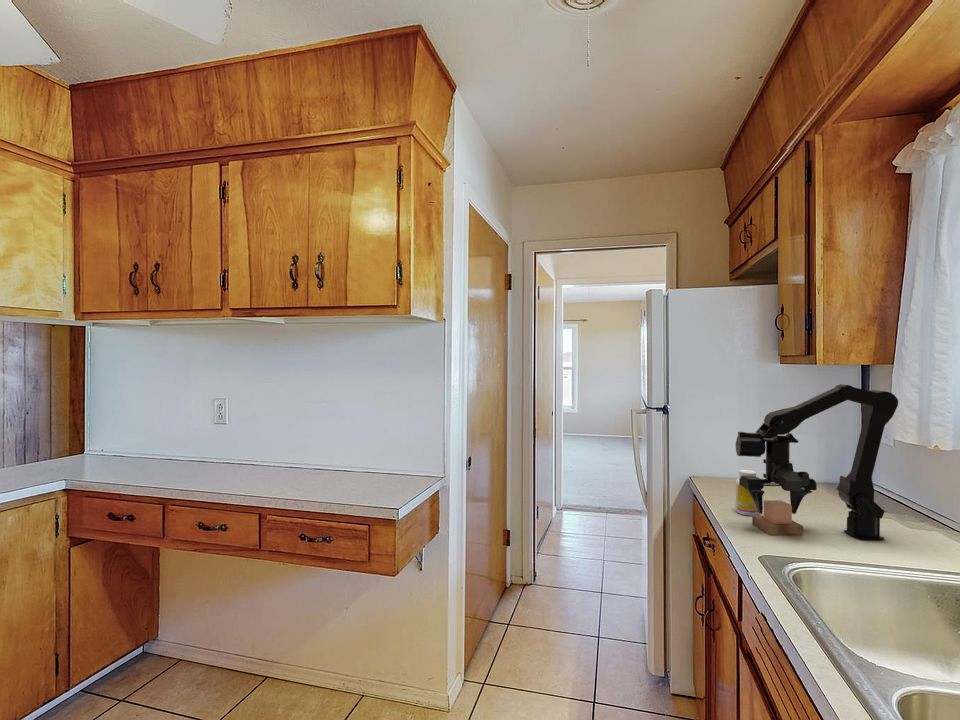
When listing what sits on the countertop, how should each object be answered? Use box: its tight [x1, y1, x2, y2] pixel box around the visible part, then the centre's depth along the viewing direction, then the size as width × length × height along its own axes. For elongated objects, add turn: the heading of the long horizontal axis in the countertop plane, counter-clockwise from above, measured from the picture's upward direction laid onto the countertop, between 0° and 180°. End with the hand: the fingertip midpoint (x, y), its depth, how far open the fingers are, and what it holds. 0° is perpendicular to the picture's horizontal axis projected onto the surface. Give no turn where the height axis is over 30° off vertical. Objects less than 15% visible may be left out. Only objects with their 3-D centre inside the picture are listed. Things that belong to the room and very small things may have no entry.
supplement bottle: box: [735, 469, 760, 517], centre depth 159 cm, size 7×7×13 cm
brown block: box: [751, 515, 804, 536], centre depth 144 cm, size 9×9×2 cm
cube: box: [762, 499, 793, 524], centre depth 144 cm, size 5×5×5 cm
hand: (777, 513), depth 144 cm, fingers open, 9 cm apart
